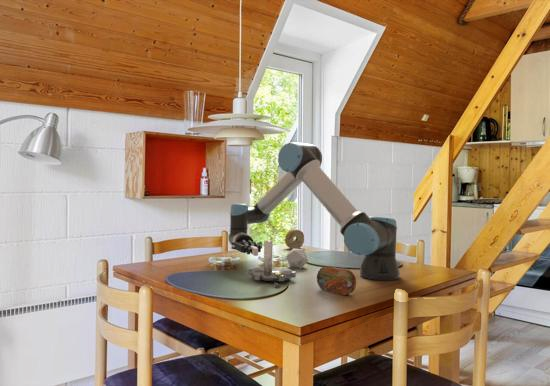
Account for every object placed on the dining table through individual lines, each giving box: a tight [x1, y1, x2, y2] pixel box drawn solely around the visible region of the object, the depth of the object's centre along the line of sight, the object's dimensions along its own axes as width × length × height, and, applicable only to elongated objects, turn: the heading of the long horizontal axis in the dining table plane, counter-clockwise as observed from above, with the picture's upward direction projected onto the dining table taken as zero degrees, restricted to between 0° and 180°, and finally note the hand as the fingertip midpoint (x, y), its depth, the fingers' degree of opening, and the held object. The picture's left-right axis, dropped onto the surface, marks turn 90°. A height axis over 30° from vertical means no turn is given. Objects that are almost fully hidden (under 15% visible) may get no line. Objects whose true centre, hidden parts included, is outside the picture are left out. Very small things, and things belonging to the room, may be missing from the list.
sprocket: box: [247, 239, 297, 282], centre depth 179 cm, size 18×16×14 cm
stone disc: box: [284, 229, 305, 250], centre depth 252 cm, size 10×4×10 cm, turn 114°
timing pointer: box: [273, 281, 280, 288], centre depth 169 cm, size 4×1×1 cm, turn 9°
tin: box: [316, 266, 357, 296], centre depth 162 cm, size 15×3×8 cm, turn 44°
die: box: [285, 248, 309, 270], centre depth 203 cm, size 8×9×10 cm
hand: (256, 252), depth 180 cm, fingers closed
